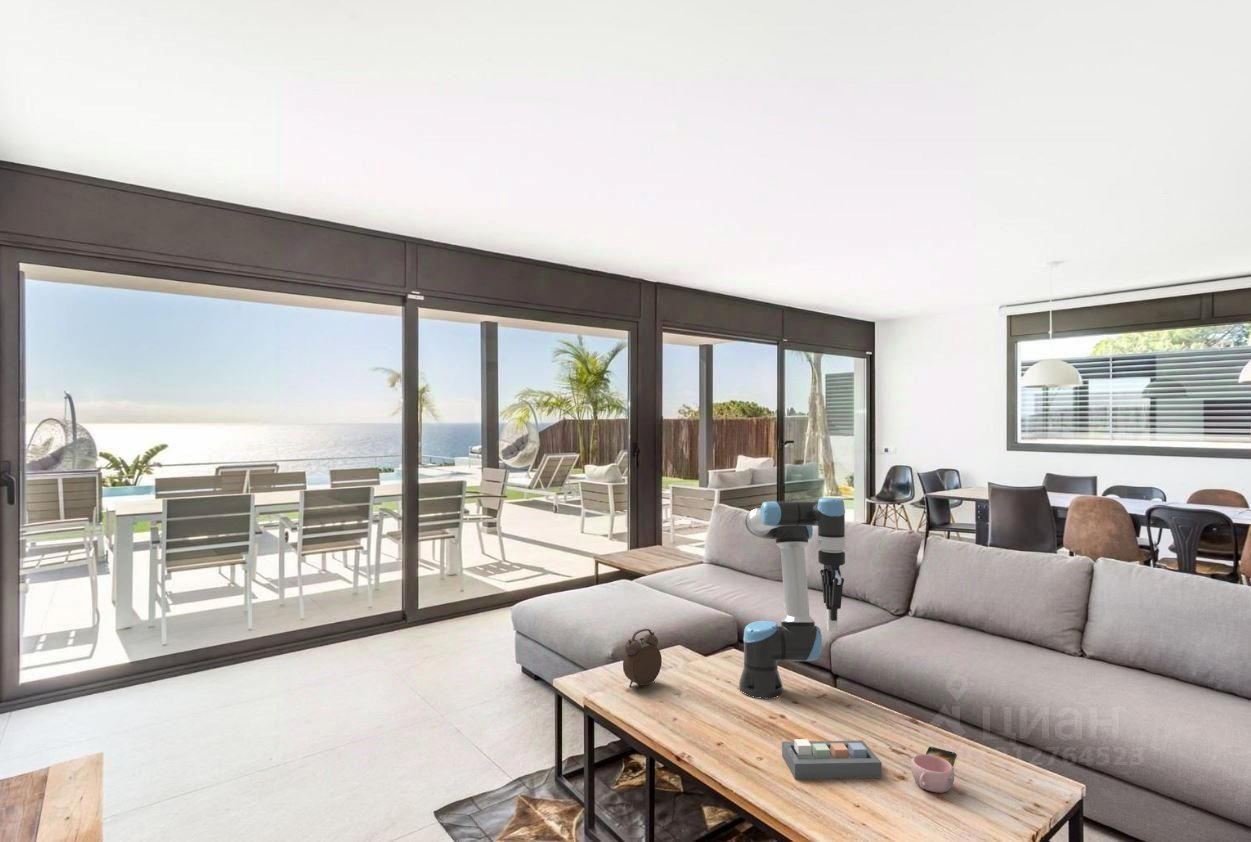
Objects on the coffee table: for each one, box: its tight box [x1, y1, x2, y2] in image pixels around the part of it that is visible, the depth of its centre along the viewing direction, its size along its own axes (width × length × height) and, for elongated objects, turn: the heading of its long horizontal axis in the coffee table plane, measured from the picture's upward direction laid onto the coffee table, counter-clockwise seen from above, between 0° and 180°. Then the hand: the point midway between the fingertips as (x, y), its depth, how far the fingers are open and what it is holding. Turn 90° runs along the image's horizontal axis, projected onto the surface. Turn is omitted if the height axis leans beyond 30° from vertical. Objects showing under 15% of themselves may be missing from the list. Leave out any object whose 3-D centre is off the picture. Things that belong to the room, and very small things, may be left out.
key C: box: [812, 743, 830, 759], centre depth 170 cm, size 4×4×2 cm
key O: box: [793, 738, 812, 755], centre depth 170 cm, size 4×4×2 cm
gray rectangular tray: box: [781, 740, 883, 780], centre depth 170 cm, size 12×23×4 cm, turn 92°
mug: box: [910, 753, 955, 793], centre depth 160 cm, size 12×10×6 cm
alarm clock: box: [622, 628, 662, 690], centre depth 227 cm, size 15×7×20 cm, turn 130°
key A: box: [848, 743, 867, 759], centre depth 171 cm, size 4×4×2 cm
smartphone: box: [925, 746, 957, 767], centre depth 173 cm, size 7×1×15 cm
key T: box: [830, 743, 848, 759], centre depth 170 cm, size 4×4×2 cm
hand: (832, 630), depth 185 cm, fingers closed
